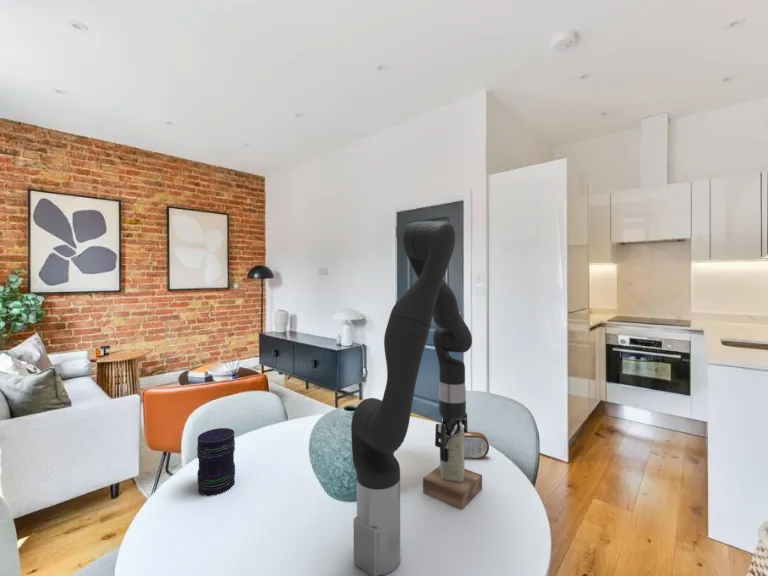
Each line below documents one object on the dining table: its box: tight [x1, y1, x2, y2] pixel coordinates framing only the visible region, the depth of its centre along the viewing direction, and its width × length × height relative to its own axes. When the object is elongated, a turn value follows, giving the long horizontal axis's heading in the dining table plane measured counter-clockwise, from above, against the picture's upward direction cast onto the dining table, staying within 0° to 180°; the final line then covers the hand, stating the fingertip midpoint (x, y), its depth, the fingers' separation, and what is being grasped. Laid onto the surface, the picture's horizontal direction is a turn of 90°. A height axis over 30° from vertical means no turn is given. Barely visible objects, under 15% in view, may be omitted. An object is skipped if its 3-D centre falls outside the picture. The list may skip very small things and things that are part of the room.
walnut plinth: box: [422, 465, 483, 510], centre depth 101 cm, size 12×12×4 cm
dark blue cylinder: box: [196, 427, 236, 497], centre depth 103 cm, size 10×10×15 cm
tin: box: [464, 431, 490, 460], centre depth 120 cm, size 15×3×8 cm, turn 86°
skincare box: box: [439, 432, 466, 482], centre depth 100 cm, size 6×4×12 cm
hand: (452, 455), depth 101 cm, fingers open, 8 cm apart
